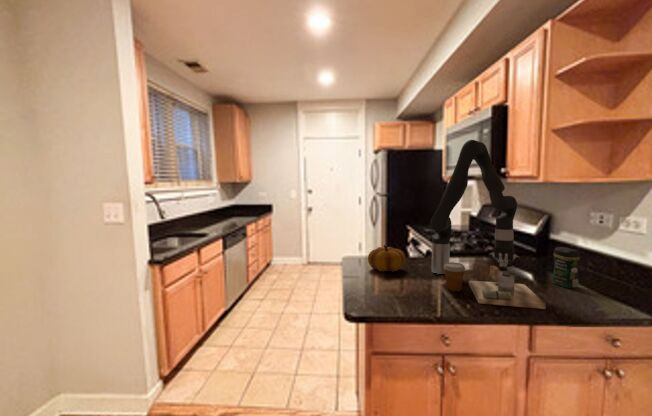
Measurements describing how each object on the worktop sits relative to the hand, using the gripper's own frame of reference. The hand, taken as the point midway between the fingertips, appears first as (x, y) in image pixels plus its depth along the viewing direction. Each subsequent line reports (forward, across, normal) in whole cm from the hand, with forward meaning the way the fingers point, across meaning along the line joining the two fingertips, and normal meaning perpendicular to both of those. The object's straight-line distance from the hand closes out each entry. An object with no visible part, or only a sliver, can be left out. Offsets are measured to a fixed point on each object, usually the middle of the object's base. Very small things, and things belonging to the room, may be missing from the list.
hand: (503, 274), depth 138 cm
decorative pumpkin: (+7, -60, 0) cm, 60 cm away
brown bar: (+5, -1, -6) cm, 8 cm away
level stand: (+7, +1, -8) cm, 11 cm away
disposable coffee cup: (+7, -19, -13) cm, 24 cm away
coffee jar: (+8, +24, +22) cm, 33 cm away
